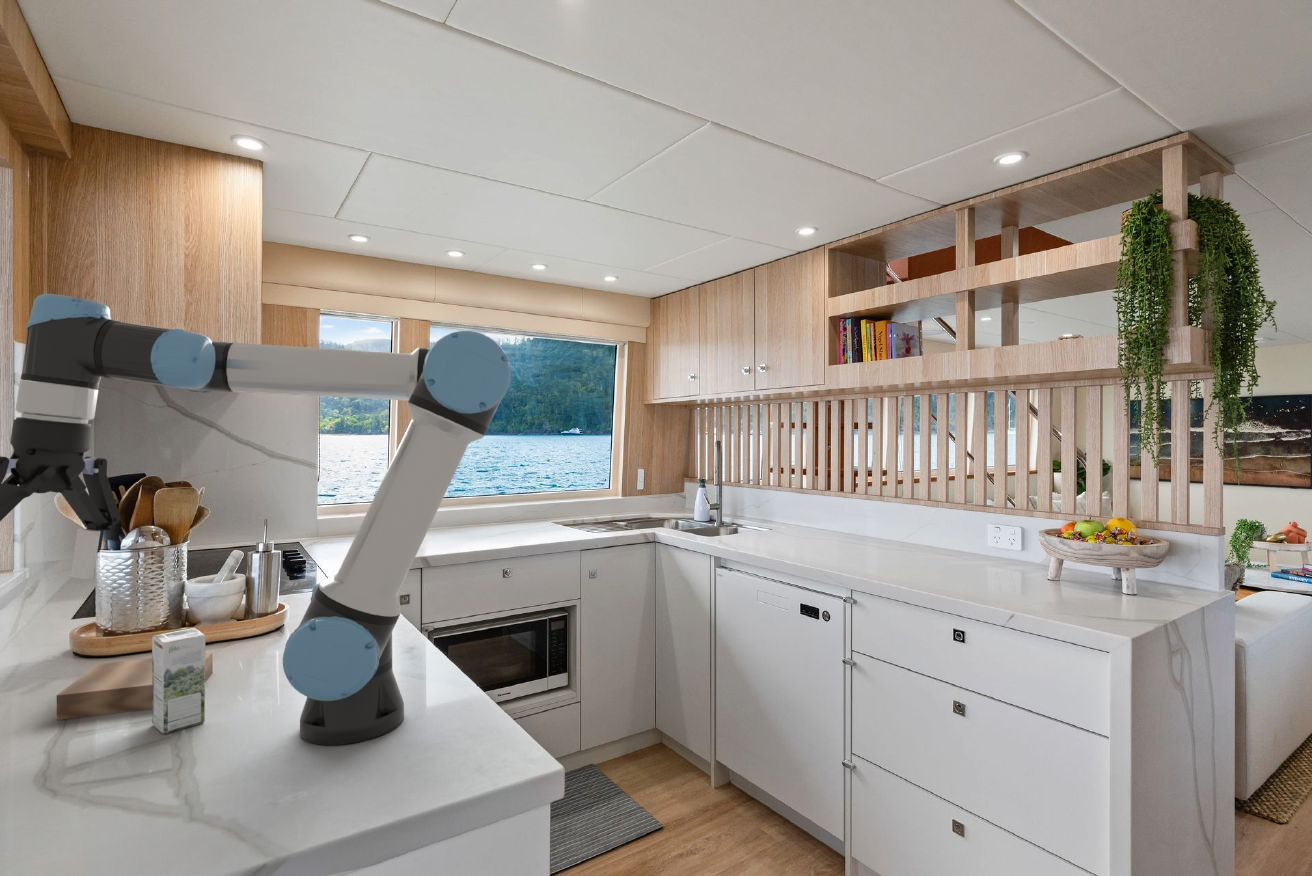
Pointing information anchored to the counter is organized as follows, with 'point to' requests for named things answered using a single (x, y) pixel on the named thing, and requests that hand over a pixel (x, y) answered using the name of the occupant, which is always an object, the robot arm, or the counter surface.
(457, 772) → the counter surface
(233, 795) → the counter surface
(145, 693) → the block
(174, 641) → the syrup box
